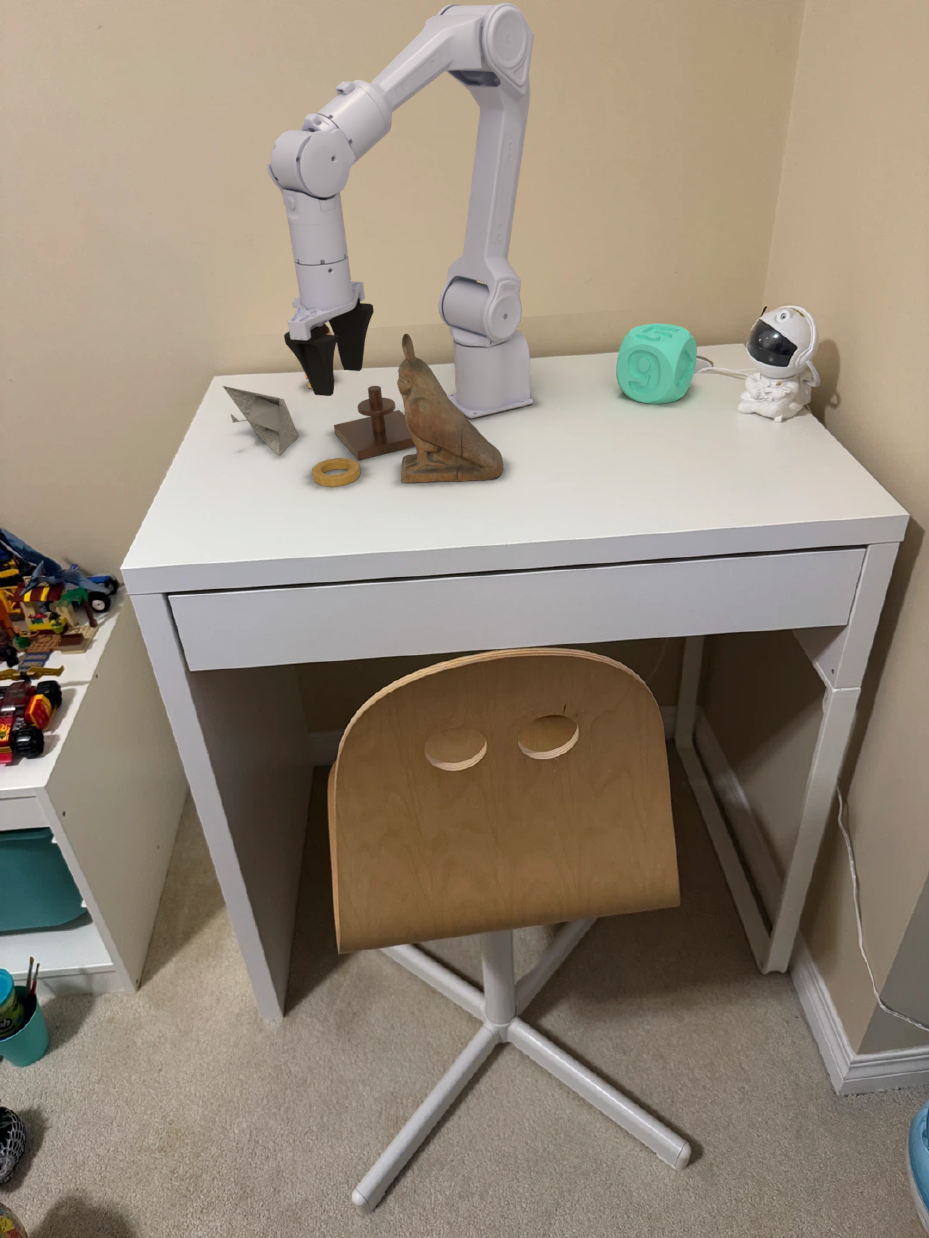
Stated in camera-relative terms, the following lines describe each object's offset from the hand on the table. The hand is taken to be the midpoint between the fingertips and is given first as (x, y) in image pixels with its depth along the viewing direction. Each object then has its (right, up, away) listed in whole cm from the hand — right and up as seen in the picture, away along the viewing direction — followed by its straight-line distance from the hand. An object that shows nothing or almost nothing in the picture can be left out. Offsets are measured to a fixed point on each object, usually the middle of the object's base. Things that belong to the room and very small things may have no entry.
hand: (338, 381), depth 103 cm
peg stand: (+4, -5, +9) cm, 11 cm away
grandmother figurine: (-6, +6, +26) cm, 27 cm away
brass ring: (0, -11, +2) cm, 11 cm away
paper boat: (-11, -5, +11) cm, 17 cm away
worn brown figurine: (+13, -10, +1) cm, 17 cm away
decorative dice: (+40, +3, +17) cm, 43 cm away
